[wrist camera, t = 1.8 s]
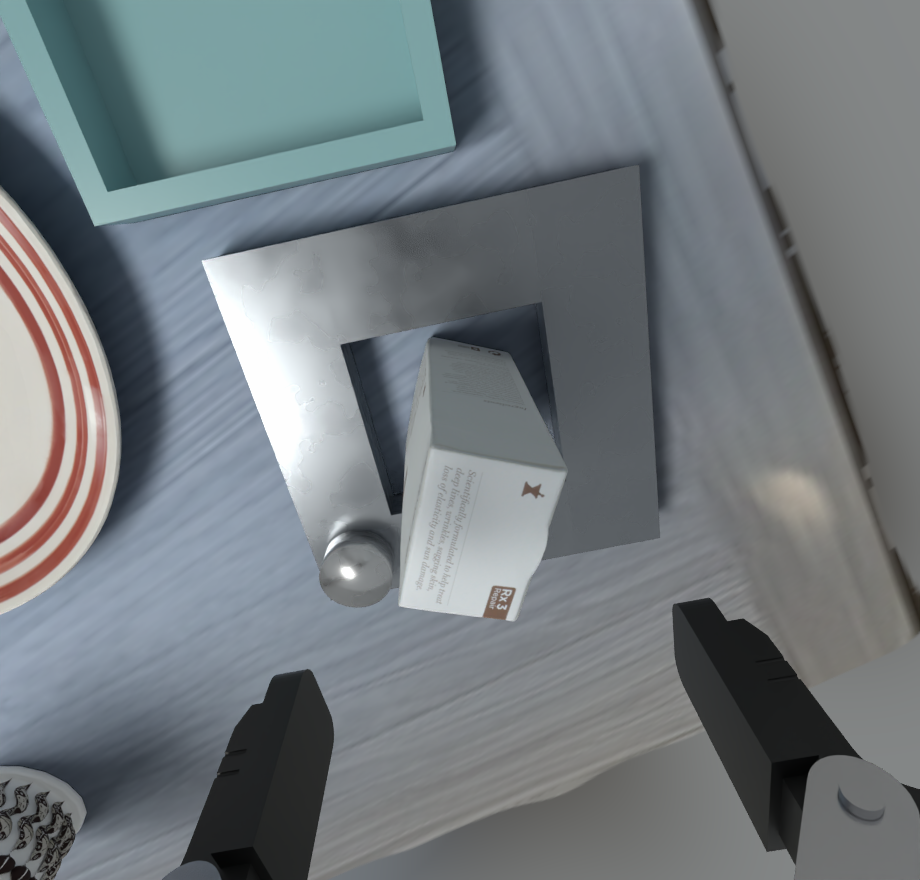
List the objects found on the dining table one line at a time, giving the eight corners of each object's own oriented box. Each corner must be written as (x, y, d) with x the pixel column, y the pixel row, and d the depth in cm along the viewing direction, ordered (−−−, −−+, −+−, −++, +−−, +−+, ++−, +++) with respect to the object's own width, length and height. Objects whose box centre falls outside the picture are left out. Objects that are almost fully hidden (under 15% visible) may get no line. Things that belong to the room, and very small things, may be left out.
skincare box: (425, 333, 26) (418, 435, 15) (516, 351, 26) (575, 463, 15) (403, 448, 28) (383, 610, 17) (487, 463, 29) (520, 629, 18)
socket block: (336, 576, 31) (325, 621, 28) (219, 256, 24) (184, 265, 21) (646, 517, 31) (672, 556, 27) (622, 167, 23) (654, 162, 20)
